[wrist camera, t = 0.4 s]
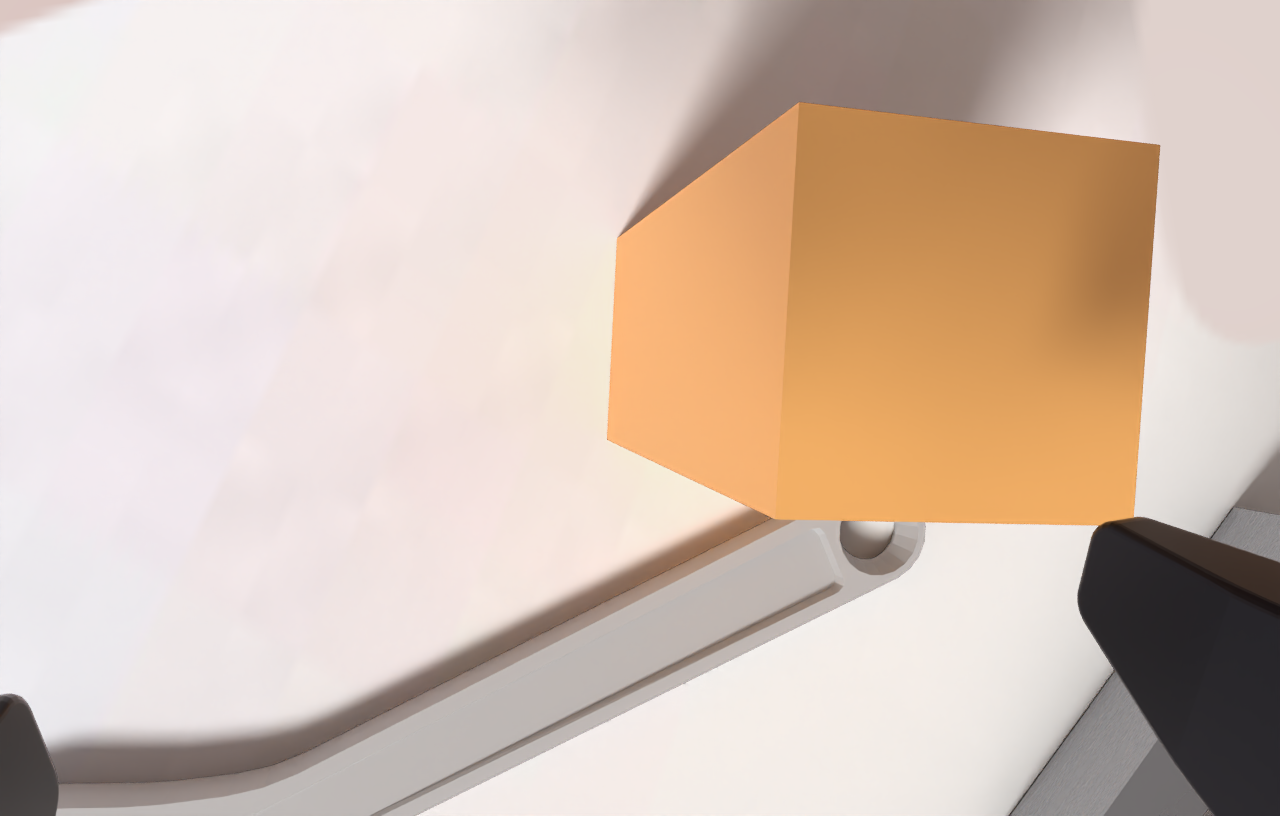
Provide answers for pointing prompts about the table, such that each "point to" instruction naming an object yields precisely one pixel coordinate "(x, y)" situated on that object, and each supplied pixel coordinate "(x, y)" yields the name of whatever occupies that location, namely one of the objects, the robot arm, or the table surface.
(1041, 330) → the tall tan rectangular block
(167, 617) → the table surface
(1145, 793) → the gray square socket plate
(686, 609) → the adjustable wrench
